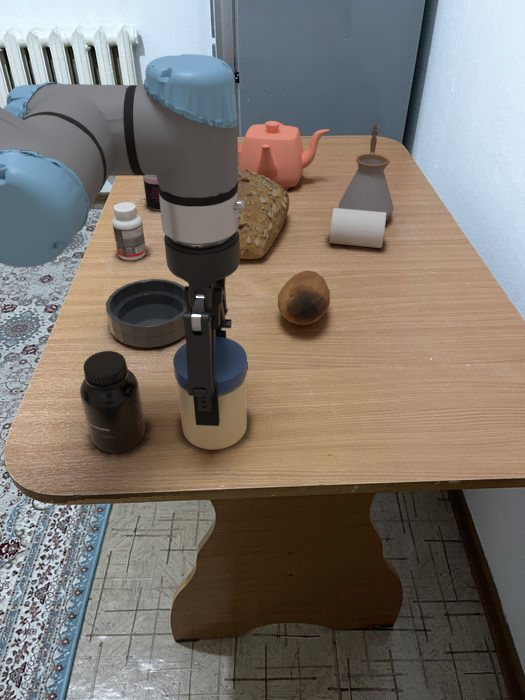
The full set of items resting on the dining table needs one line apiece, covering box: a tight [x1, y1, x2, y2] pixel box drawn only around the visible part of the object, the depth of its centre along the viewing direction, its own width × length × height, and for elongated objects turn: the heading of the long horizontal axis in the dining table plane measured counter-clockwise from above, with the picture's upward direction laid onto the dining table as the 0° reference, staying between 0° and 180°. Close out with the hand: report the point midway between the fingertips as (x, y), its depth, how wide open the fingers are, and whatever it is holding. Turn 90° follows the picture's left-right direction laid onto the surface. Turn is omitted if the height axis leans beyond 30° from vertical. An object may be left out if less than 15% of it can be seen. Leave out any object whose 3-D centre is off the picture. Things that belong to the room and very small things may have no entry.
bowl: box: [105, 278, 187, 349], centre depth 89 cm, size 13×13×4 cm
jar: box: [176, 376, 248, 450], centre depth 70 cm, size 8×8×10 cm
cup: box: [329, 207, 387, 249], centre depth 110 cm, size 7×7×10 cm
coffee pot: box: [338, 124, 395, 221], centre depth 120 cm, size 21×12×15 cm, turn 169°
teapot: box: [238, 120, 330, 191], centre depth 131 cm, size 18×18×14 cm
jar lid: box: [172, 336, 249, 394], centre depth 67 cm, size 9×9×2 cm
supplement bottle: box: [79, 350, 146, 453], centre depth 69 cm, size 7×7×12 cm
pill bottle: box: [111, 201, 147, 261], centre depth 105 cm, size 5×5×10 cm
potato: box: [277, 270, 331, 326], centre depth 90 cm, size 8×14×8 cm
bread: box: [236, 169, 290, 260], centre depth 111 cm, size 24×21×12 cm
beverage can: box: [142, 175, 161, 212], centre depth 120 cm, size 7×7×15 cm
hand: (212, 395), depth 70 cm, fingers closed on jar lid, 9 cm apart
